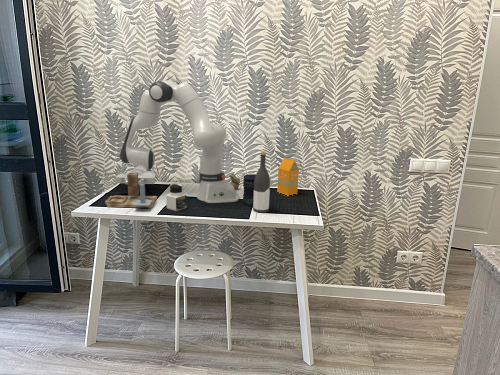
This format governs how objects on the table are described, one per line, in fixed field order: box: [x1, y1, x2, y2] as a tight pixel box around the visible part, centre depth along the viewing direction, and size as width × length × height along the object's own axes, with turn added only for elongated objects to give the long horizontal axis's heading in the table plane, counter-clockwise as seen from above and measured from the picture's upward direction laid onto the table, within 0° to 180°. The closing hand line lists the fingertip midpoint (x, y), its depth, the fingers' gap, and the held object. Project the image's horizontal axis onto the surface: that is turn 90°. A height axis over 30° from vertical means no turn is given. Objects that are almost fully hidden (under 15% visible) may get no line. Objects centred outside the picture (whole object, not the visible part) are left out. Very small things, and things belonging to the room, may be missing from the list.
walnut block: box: [127, 172, 140, 196], centre depth 209 cm, size 4×4×11 cm
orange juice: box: [276, 157, 300, 197], centre depth 229 cm, size 8×9×20 cm
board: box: [104, 195, 158, 209], centre depth 208 cm, size 23×14×3 cm, turn 93°
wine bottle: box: [252, 150, 271, 214], centre depth 199 cm, size 8×8×30 cm
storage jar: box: [242, 173, 257, 208], centre depth 210 cm, size 10×10×15 cm
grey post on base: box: [134, 184, 152, 206], centre depth 198 cm, size 8×8×10 cm
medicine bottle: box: [165, 183, 188, 212], centre depth 202 cm, size 7×7×12 cm
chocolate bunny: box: [229, 172, 241, 191], centre depth 235 cm, size 6×8×10 cm
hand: (132, 183), depth 208 cm, fingers closed on walnut block, 4 cm apart
